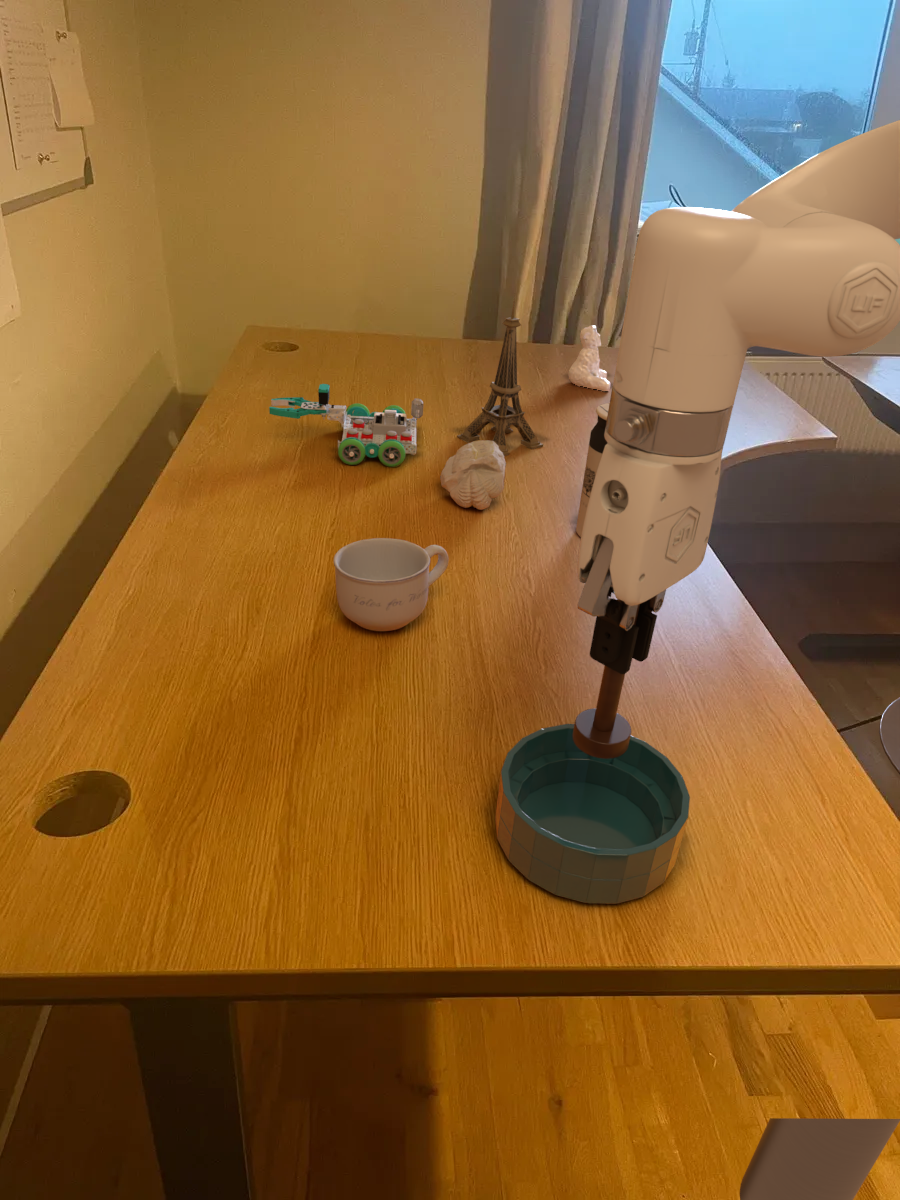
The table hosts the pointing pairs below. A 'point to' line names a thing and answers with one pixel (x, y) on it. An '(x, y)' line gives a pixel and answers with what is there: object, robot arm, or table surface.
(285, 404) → the robot kit
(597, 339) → the sitting furry creature
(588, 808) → the bowl
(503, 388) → the eiffel tower
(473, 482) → the fossil replica
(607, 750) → the stirring stick
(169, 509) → the table surface
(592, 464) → the travel mug
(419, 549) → the teacup
